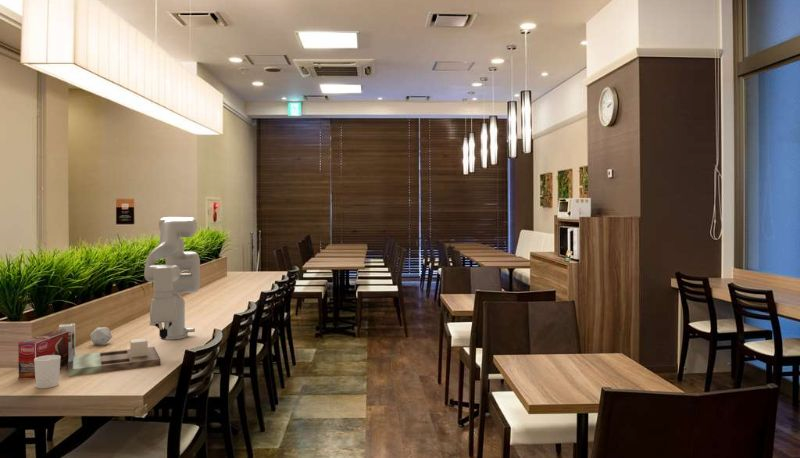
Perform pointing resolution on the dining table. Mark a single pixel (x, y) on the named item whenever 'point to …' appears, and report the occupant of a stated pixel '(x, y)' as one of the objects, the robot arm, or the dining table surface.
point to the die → (100, 336)
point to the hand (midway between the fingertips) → (163, 338)
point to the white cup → (47, 371)
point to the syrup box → (69, 333)
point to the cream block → (138, 347)
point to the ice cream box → (42, 351)
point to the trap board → (109, 361)
